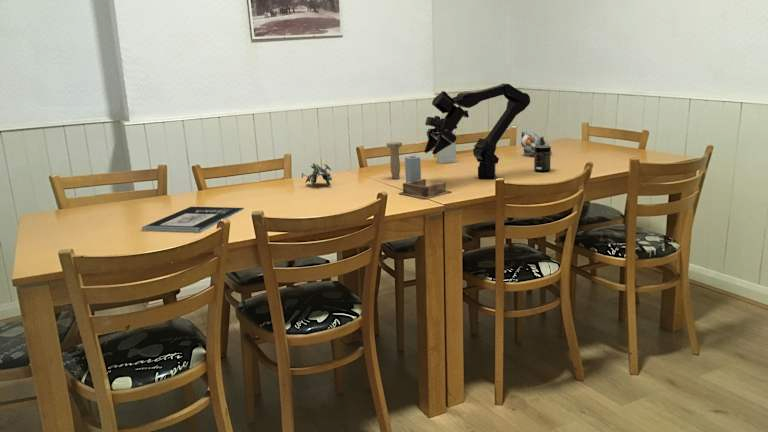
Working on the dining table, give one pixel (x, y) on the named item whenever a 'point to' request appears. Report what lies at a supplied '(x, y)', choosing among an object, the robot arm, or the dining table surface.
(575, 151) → the dining table surface
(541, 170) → the supplement container
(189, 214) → the sketchbook
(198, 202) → the dining table surface
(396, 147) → the handle
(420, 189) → the brown wooden tray
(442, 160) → the skincare box
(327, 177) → the dark green irregular figure
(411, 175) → the post
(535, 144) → the lucky cat figurine
